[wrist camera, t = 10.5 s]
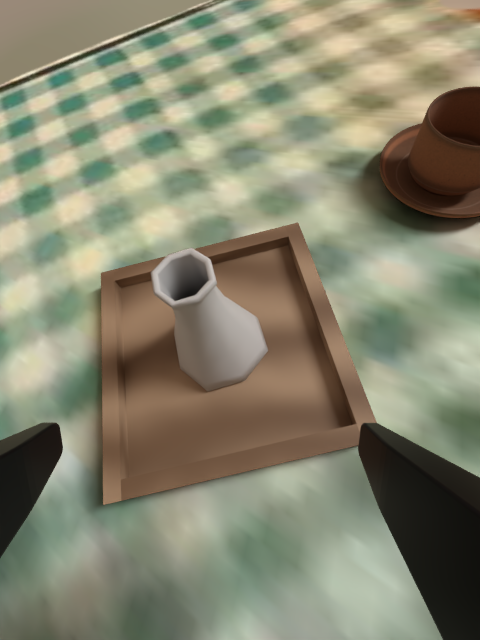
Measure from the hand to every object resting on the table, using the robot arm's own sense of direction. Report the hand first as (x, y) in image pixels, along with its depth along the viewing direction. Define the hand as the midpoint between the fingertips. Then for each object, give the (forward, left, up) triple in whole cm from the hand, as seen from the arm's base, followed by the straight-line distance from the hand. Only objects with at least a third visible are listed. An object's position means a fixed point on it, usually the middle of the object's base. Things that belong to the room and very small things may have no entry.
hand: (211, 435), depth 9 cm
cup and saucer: (+19, -23, -14) cm, 33 cm away
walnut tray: (+7, +1, -13) cm, 15 cm away
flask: (+8, +1, -13) cm, 15 cm away
